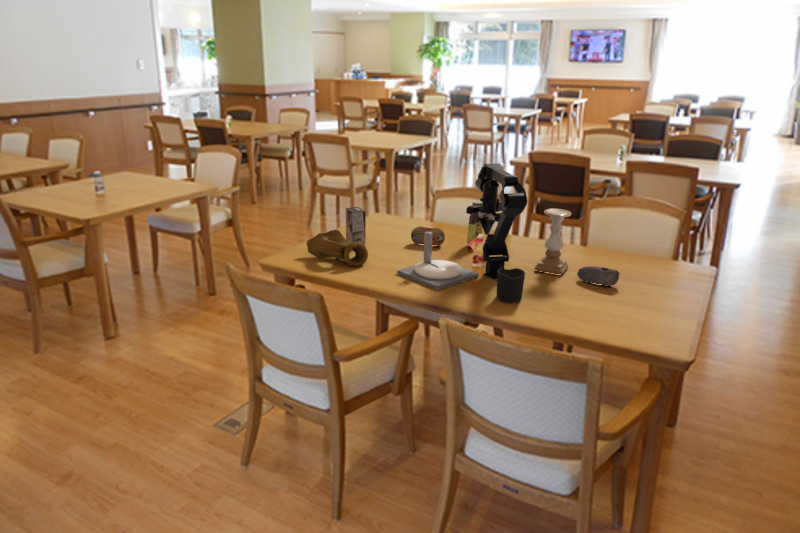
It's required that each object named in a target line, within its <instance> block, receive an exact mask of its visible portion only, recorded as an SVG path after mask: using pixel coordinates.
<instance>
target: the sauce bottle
mask: <svg viewBox="0 0 800 533" xmlns="http://www.w3.org/2000/svg"><path fill="white" fill-rule="evenodd" d="M472 205H479V206H482V201H472ZM477 217H478V213H476V212H474V213H473V214H472V215H471V214H469V217H468V224H467V226H468V228H467V237H466V238H467V239H466V242H467V243H468V244H469V243H470V242H471V241H472V240H474V239H475V238H476V237H477V236H478V235H479V234H482V235H483V227H482V225H481V223H480V221H479V219H478V218H477ZM467 243H466V244H467Z"/></svg>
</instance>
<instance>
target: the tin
mask: <svg viewBox="0 0 800 533" xmlns="http://www.w3.org/2000/svg"><path fill="white" fill-rule="evenodd" d="M425 232H432V245H437V246H438V247H441V246H442V244H443V243H444V242H445V239H446V235H445V232H444V230H442V229H441V228H439V227H431V226H422V225H421V226H417V227H415V228H414V229H412V231H411V233H410V238H411V242H413V243H414V244H415V245H417V244H424V235H425Z"/></svg>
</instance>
